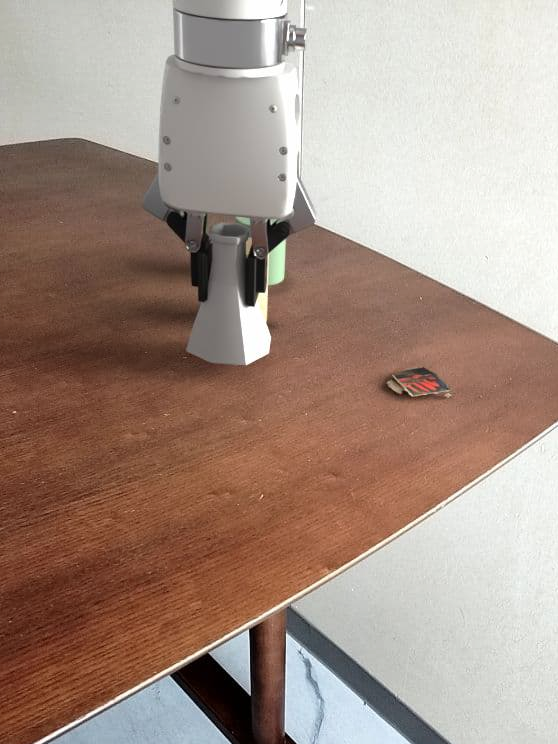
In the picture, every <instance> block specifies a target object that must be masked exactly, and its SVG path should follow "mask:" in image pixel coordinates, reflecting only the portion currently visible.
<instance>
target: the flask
mask: <svg viewBox="0 0 558 744" xmlns="http://www.w3.org/2000/svg"><path fill="white" fill-rule="evenodd" d="M209 227H210V228H209V231H208V236H209V240H211V243H212V244H213V258H212V264H211V270H210V277H209V281H208V297H207V300H205V302H200V305H199V309H198V311H197V313H196V317H195V320H194V322H193V325H192V329H191V332H190V335H189V338H188V342H187V345H186V348H185V352H187V353H189V354H192V355H194V356H196V357H199V359H202V360H204V361H206V362H208V363H210V364H223V365H237V366H238V365H239V366H248V365H250V364H252V363H253V362H255V361H257V360H258V359H261V358H263V357H265V356H267V355H268V354H270V346H271V340H272V336H271V333H270V330H269V327H268V325H267V321H266V322H265V319H264V316H263V314H262V311H261V308H260V305H259V303H258V300H257V301H256V304H255V307H250V306H248V305H247V304H246V260H247V257H246V241H247V240H248V237H249V233H250V228H249V227H246V226H243V225H241V224H238V223H236V222H223V221H222V222H219V223H216V224H213V225H211V226H209Z"/></svg>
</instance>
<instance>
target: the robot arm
mask: <svg viewBox="0 0 558 744" xmlns="http://www.w3.org/2000/svg"><path fill="white" fill-rule="evenodd" d="M287 7H288V0H172V21H173V50H174V51H173V52H174V54H171V55H168V56H167V58H166V60H165V64H164V70H163V78H162V84H161V85H162V86H161V95H160V107H159V108H160V109H159V127H158V156H157V158H158V163H157V168H158V170H157V172H156V174H155V175H154V177H153V180H152V182H151V184H150V185H149V187H148V189H147V192H146V193H145V195H144V197H143V199H142V202H141V206H142V208H143V209H144V211H146V212H147V213H149V214H151V215H152V216H153V217H154V218H157V219H158V220H159V221H161V222H164V223H165V224H167V226H168V227H169V229H170V230H172V231H173V233H174V234H175V235H176V236H177V237H178V238H179V239H180V240H181V241H182V242H183V243H184V247H185V249H186V250H187V251H188V252H189V253H190V256H189V257H190V284H191V287H195V288H197V300H198V301H197V302H198V303H199V302H200V303H202V302H205V300H207V297H208V281H209V277H210V270H211V264H212V258H213V244H212V240H210V238H209V234H208V226H209V217H210V215H214V216H225V217H233V218H234V217H235V218H236V217H245V218H250V227H251V237H252V245H251V248H250V251H249V254H248V257H247V260H246V304H247V305H248V306H250V307H255V304H256V301H257V298H258V295H259V293H265V292H266V287H267V266H268V254H269V253H270V252H271V251H272V250H273V249H274V248H276V247H277V246H278V245H279V244H280V243H281V242H282V241H284V240H285V239H286V240H287V238H288V237H289V236H291V235H294V234H295V235H296V234H297V233H299V232H301V231H303V230H305V229H308V228H310V227H312V226H314V225H315V223H316V219H317V211H316V209H315V206H314V204H313V202H312V200H311V197H310V195H309V194H308V192H307V189H306V187H305V185H304V183H303V181H302V178H301V176H300V175H301V109H300V92H299V83H298V75H297V74H298V73H297V70H296V69H297V68H296V65H294V64H293V63H291V62H287V61H285V60H286V59H285V58H286V57H287V56H289V54H290V53H295V52H296V51H302V52H306V50H307V43H308V28H306V27H297V25H295V24H292V21H291V20H288V18H289V17H288V15H289V13H288V12H287V10H288V9H287ZM292 210H293V211H292ZM271 219H277V220H276V221H275V222H274V223H273V224H272V222H271Z"/></svg>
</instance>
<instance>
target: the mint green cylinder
mask: <svg viewBox="0 0 558 744" xmlns="http://www.w3.org/2000/svg"><path fill="white" fill-rule="evenodd" d="M276 220H277V219H271V222H272V224H273V223H274V222H275V221H276ZM235 223H238V224H241V225H243V226H246V227H249V228H250V233H249V237H250V238H252V237H251V227H250V218H245V217H235ZM286 251H287V238H286V239H285V240H284V241H282V242H281V243H280V244H279V245H278V246H277V247H276V248H274V249H273V250H272V251H271V252H270V253H269V266H268V287H269V286H274V285H278V284H280V283H282V282H283V281H284V279H285V278H286V277H285V275H286Z"/></svg>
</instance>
